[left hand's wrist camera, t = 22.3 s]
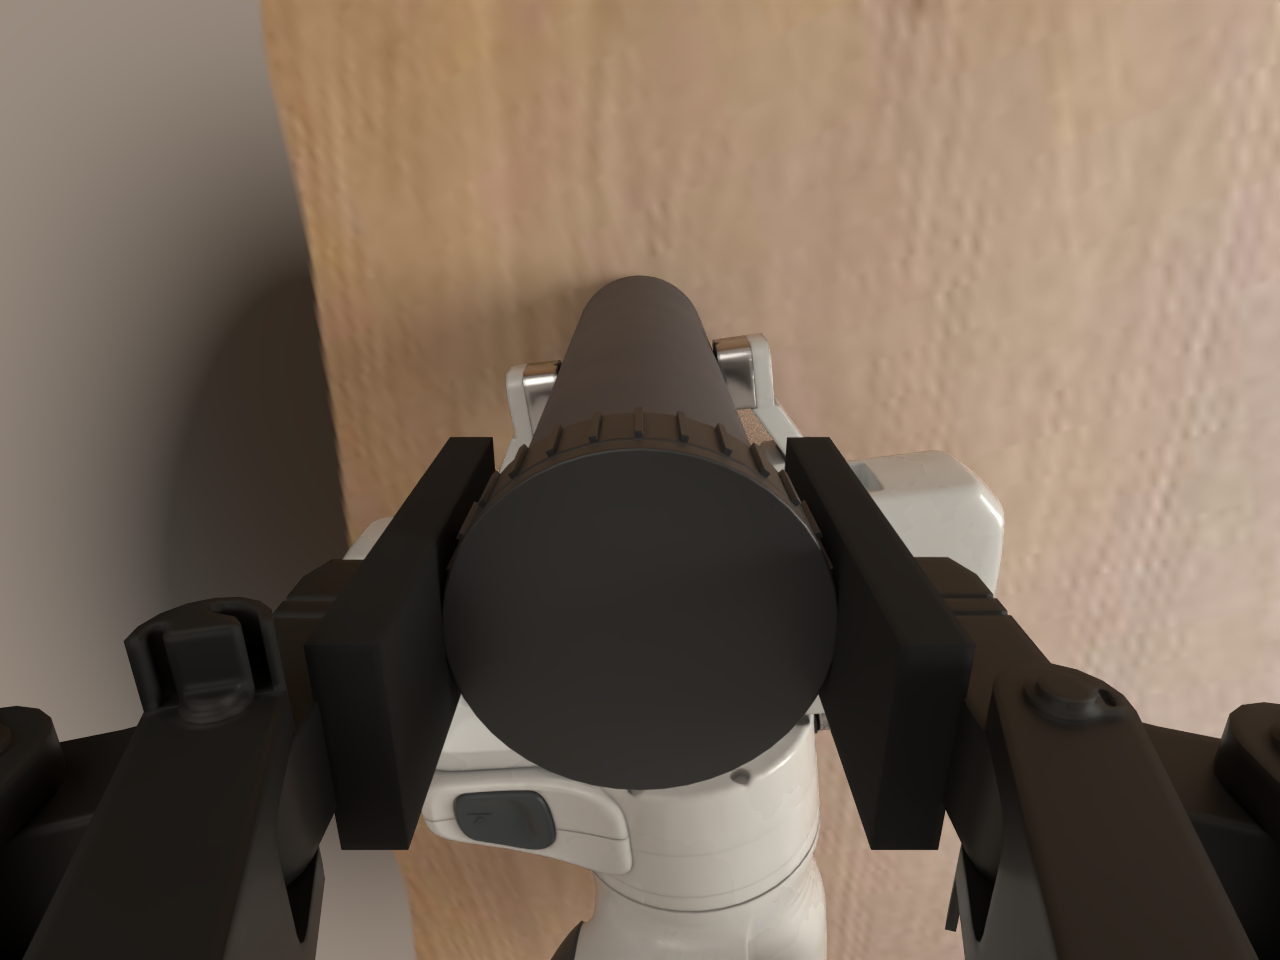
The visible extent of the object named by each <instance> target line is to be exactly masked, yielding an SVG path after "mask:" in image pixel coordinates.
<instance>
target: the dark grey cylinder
mask: <svg viewBox="0 0 1280 960" xmlns="http://www.w3.org/2000/svg"><path fill="white" fill-rule="evenodd" d="M635 407H643V412H644V413H660V414H668V415H674V416H676V415H677V411H682V412H685V415H686V418H689V419H692V420H695V421H698V422H702V423H705V424H708V425H711V426H713V427H716V425H717V424H718V423H720V424H722V425H724V426H725V428H726V431H727V433H728V434H730V435H732V436H734V437H736V438H737V439H739V440H740V441H742V442H743V443H745V444H747V445H748V446H751V445H750V443H749V440H748V438H747V435H746V433H745V430H744V428H743V425H742V423H741V420H740V418H739V415H738V413H737V410H736V408H735V405H734V403H733V400H732V398H731V395H730V393H729V390H728V388H727V385H726V383H725V380H724V378H723V375H722V373H721V370H720V368H719V366H718V363H717V361H716V358H715V356H714V353H713V351H712V348H711V346H710V343H709V341H708V338H707V336H706V333H705V331H704V328H703V326H702V323H701V321H700V318H699V316H698V313H697V311H696V309H695V307H694V306H693V304H692V303H691V301H690V300H689V299H688V298H687V297H686V295H685V294H684V293H683V292H681V291H680V290H679V289H678V288H677V287H675V286H673V285H672V284H670V283H668V282H666V281H664V280H661V279H658V278H655V277H649V276H631V277H626V278H622V279H619V280H616V281H614V282H612V283H610V284H608V285H606V286H605V287H603V288H602V289H601V290H599V291H598V292H597V293H596V294H595V295H594V296H593V297H592V298H591V300H590V301H589V302H588V304H587V305H586V307H585V309H584V311H583V313H582V315H581V318H580V320H579V323H578V325H577V328H576V330H575V333H574V335H573V338H572V340H571V343H570V345H569V348H568V350H567V353H566V355H565V358H564V360H563V363H562V365H561V368H560V370H559V373H558V375H557V378H556V380H555V383H554V385H553V388H552V390H551V393H550V395H549V398H548V400H547V403H546V405H545V408H544V410H543V413H542V415H541V418H540V420H539V423H538V425H537V428H536V430H535V433H534V435H533V438H532V440H531V443H530V445H529V447H530V446H532V445H533V444H535V443H536V442H538V441H539V440H541V439H542V438H544V437H546V436H548V435H550V434H551V433H552V430H553V427H554V426H555V425H558V424H561V426H562V428H564V427H566V426H569V425H572V424H575V423H578V422H581V421H584V420H587V419H591V418H592V416H593V412H597V411H600V412H601V415H602V416H606V415H611V414H620V413H635Z"/></svg>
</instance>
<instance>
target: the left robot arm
mask: <svg viewBox="0 0 1280 960" xmlns="http://www.w3.org/2000/svg"><path fill="white" fill-rule="evenodd" d="M494 471H495V463H494V449H493V437H450V438H449V440H448V441H447V443H446V444H445V445H444V447H443V448H442V450H441V451H440V452H439V454H438V455H437V457H436V458H435V459H434V461H433V462H432V464H431V465H430V467H429V468H428V469H427V471H426V472H425V474H424V475H423V476H422V478H421V479H420V481H419V482H418V484H417V485H416V486H415V488H414V489H413V491H412V492H411V493H410V495H409V496H408V498H407V499H406V501H405V502H404V503H403V505H402V506H401V508H400V509H399V510H398V512H397V513H396V515H395V516H394V517H393V519H392V520H391V522H390V523H389V525H388V526H387V527H386V529H385V530H384V532H383V533H382V534H381V536H380V537H379V539H378V540H377V542H376V543H375V544H374V546H373V547H372V549H371V550H370V551H369V553H368V554H367V556H366V557H365V559H364V560H330V561H329V562H327V563H325V564H324V565H322V566H320V567H319V568H317V569H315V570H314V571H312V572H311V573H309V574H307V575H305V576H304V577H303V578H302V579H301V580H300V581H299V583H298V584H297V585H296V586H295V587H294V589H293V590H292V591H291V592H290V593H289V595H288V596H287V600H286V601H283V602H282V603H281V604H280V606H279V607H278V608H277V609H276V610H275V612H274V613H273V614H272V610H271V609H270V608H269V607H267V606H266V605H265V604H263V603H262V602H261V601H257V600H252V599H247V598H242V597H229V598H212V599H207V600H203V601H198V602H193V603H188V604H185V605H182V606H179V607H177V608H174V609H171V610H168V611H166V612H163V613H160V614H159V615H157V616H155V617H154V618H152V619H150V620H148V621H147V622H145V623H143V624H141V625H140V626H138V627H137V628H136V629H135V630H134V631H133V632H132V633H131V634H130V635H129V636H128V637H127V638H126V639H125V640H124V644H125V648H126V651H127V655H128V658H129V662H130V665H131V669H132V672H133V675H134V679H135V683H136V686H137V689H138V693H139V696H140V700H141V703H142V707H143V710H144V713H143V715H142V717H141V719H140V721H139V723H138V725H137V726H136V727H132V728H128V729H124V730H119V731H114V732H110V733H104V734H99V735H94V736H89V737H84V738H79V739H74V740H69V741H64V742H59V740H58V737H57V734H56V731H55V728H54V725H53V722H52V719H51V717H49V716H48V715H47V714H45V713H44V712H43V711H41V710H40V709H37V708H29V707H21V706H12V707H4V708H0V960H315V956H316V947H317V939H318V931H319V923H320V915H321V906H322V898H323V890H324V881H325V877H324V870H323V863H322V858H321V854H320V848H319V844H320V842H321V840H322V837H323V835H324V833H325V831H326V829H327V827H328V825H329V823H330V821H331V819H332V816H333V814H334V812H335V818H336V823H337V828H338V834H339V839H340V844H341V849H342V850H408V849H409V846H410V843H411V840H412V837H413V834H414V832H415V829H416V826H417V823H418V820H419V817H420V814H421V811H422V808H423V805H424V802H425V799H426V796H427V793H428V790H429V787H430V784H431V781H432V779H433V776H434V773H435V770H436V767H437V764H438V761H439V758H440V755H441V752H442V749H443V746H444V743H445V740H446V737H447V734H448V731H449V729H450V726H451V723H452V720H453V717H454V714H455V711H456V708H457V705H458V702H459V699H460V696H461V692H460V690H459V688H458V686H457V684H456V682H455V681H454V679H453V676H452V673H451V670H450V667H449V664H448V661H447V658H446V651H445V642H444V634H443V624H442V614H441V609H442V599H443V591H444V586H445V583H446V579H447V573H446V568H447V566H448V564H449V562H450V560H451V558H452V556H453V554H454V552H455V550H456V548H457V546H458V544H459V541H460V540H458V539H456V538H457V535H458V533H459V531H460V529H461V527H462V525H463V523H464V521H465V519H466V517H467V515H468V513H469V511H470V509H471V507H472V505H473V503H474V502H477V503H478V502H479V500H480V498H481V496H482V494H483V492H484V489H485V487H486V485H487V483H488V481H489V479H490V477H491V475H492V474H493V473H494ZM785 472H786V473H787V474H788V476H789V478H790V480H791V482H792V484H793V487H794V489H795V491H796V493H797V495H798V497H799V499H800V501H803V500H805V502H806V504H807V506H808V508H809V510H810V512H811V514H812V516H813V518H814V520H815V522H816V524H817V526H818V528H819V530H820V532H821V534H822V536H823V537H822V538H820V541H821V543H822V545H823V547H824V549H825V551H826V553H827V555H828V557H829V559H830V561H831V563H832V565H833V574H832V576H833V580H834V583H835V587H836V592H837V600H838V618H837V628H836V638H835V647H834V655H833V661H832V664H831V666H830V669H829V672H828V675H827V678H826V680H825V682H824V684H823V686H822V688H821V690H820V692H819V694H818V695H819V698H820V700H821V703H822V706H823V709H824V712H825V715H826V718H827V721H828V724H829V727H830V730H831V733H832V736H833V739H834V742H835V745H836V748H837V751H838V753H839V756H840V759H841V762H842V765H843V768H844V771H845V774H846V777H847V780H848V783H849V786H850V789H851V792H852V795H853V798H854V801H855V804H856V806H857V809H858V812H859V815H860V818H861V821H862V824H863V827H864V830H865V833H866V836H867V839H868V842H869V845H870V848H871V850H938V847H939V842H940V836H941V831H942V826H943V820H944V815H945V810H946V811H947V814H948V816H949V818H950V820H951V822H952V824H953V826H954V828H955V830H956V832H957V835H958V837H959V839H960V841H961V848H960V853H959V858H958V863H957V868H956V873H955V878H954V883H953V888H952V893H951V898H950V903H949V908H948V913H947V920H946V927H945V929H946V930H950V931H955V932H956V928H957V924H958V919H959V915H960V921H961V929H962V937H963V946H964V954H965V960H1280V704H1274V703H1266V702H1262V703H1254V704H1246V705H1241V706H1240V707H1238V708H1237V709H1236V710H1234V711H1233V712H1232V713H1230V714H1229V717H1228V720H1227V723H1226V726H1225V729H1224V732H1223V735H1222V738H1221V739H1219V738H1214V737H1209V736H1204V735H1199V734H1194V733H1189V732H1184V731H1178V730H1173V729H1168V728H1163V727H1158V726H1154V725H1150V724H1146V723H1142V722H1141V720H1140V718H1139V716H1138V714H1137V711H1136V710H1135V709H1134V708H1133V706H1132V705H1131V704H1130V703H1129V701H1128V700H1127V699H1126V698H1125V696H1124V695H1123V694H1121V693H1120V692H1118V691H1117V690H1115V689H1114V688H1112V687H1111V686H1110V685H1108V684H1107V683H1105V682H1104V681H1102V680H1100V679H1098V678H1095V677H1093V676H1091V675H1088V674H1086V673H1084V672H1081V671H1079V670H1077V669H1073V668H1068V667H1064V666H1060V665H1056V664H1051V663H1050V662H1049V660H1048V659H1047V658H1046V657H1045V656H1044V654H1043V653H1042V652H1041V651H1040V650H1039V648H1038V647H1037V646H1036V645H1035V644H1034V642H1033V641H1032V640H1031V639H1030V638H1029V636H1028V635H1027V634H1026V633H1025V632H1024V630H1023V629H1022V628H1021V627H1020V626H1019V624H1018V623H1017V622H1016V621H1015V620H1014V618H1013V617H1012V616H1011V615H1008V614H1007V610H1006V609H1005V608H1004V606H1003V605H1002V604H1001V603H1000V602H999V600H998V599H997V598H994V597H993V593H992V592H991V591H990V590H989V588H988V587H987V586H986V585H985V584H984V582H983V581H982V580H981V579H980V578H979V576H978V575H977V574H976V573H974V572H972V571H971V570H969V569H967V568H966V567H964V566H962V565H961V564H959V563H957V562H956V561H954V560H952V559H951V558H949V557H914V556H913V555H912V554H911V552H910V551H909V549H908V548H907V547H906V545H905V544H904V542H903V541H902V539H901V538H900V537H899V535H898V534H897V532H896V531H895V530H894V528H893V527H892V525H891V524H890V522H889V521H888V520H887V518H886V517H885V515H884V514H883V513H882V511H881V510H880V508H879V507H878V505H877V504H876V503H875V501H874V500H873V498H872V497H871V496H870V494H869V493H868V491H867V490H866V488H865V487H864V486H863V484H862V483H861V481H860V480H859V479H858V477H857V476H856V474H855V473H854V472H853V470H852V469H851V467H850V466H849V464H848V463H847V462H846V460H845V459H844V457H843V456H842V455H841V453H840V452H839V450H838V449H837V447H836V446H835V445H834V443H833V442H832V440H831V439H830V438H829V437H787V442H786V456H785Z"/></svg>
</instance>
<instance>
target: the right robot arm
mask: <svg viewBox="0 0 1280 960" xmlns="http://www.w3.org/2000/svg"><path fill="white" fill-rule="evenodd" d="M713 353H714V356H715V358H716V361H717V363H718V366H719V368H720V370H721V373H722V375H723V378H724V380H725V383H726V385H727V388H728V390H729V393H730V395H731V398H732V400H733V403H734V405H735V408H736V410H740V409H749V408H751V409H752V411H753V412H754V414H755V415H756V417H757V418H758V419H759V421H760V422H761V423H762V425H763V426H764V427H765V429H766V430H767V432H768V433H769V434H770V436H771V437H772V438H773V440H772V441H763V442H762V443H761V444H760V445H759V447H760V450H761V452H762V454H763V456H764V458H765V459H766V460H767V461H768V462H769V463H770V464H771V465H772V466H773V467H774V468H775V469H776V470H777V471H778V472H780V471H781V470H782V469H784V470H785V456H786V442H787V437H803V435H802V434H801V432H800V431H799V429H798V428H797V427H796V425H795V424H794V423H793V421H792V420H791V418H790V417H789V416H788V414H787V413H786V412H785V410H784V409H783V407H782V406H781V405H780V403H779V402H778V400H777V399H776V398H775V396H774V394H773V381H772V367H771V354H770V349H769V344H768V341H767V339H766V338H765V336H764V335H763V334H762V333H759V334H752V335H743V336H737V337H730V338H723V339H716V340H713ZM561 365H562V363H561V361H560V360H558V361H549V362H540V363H532V364H522V365H516V366H511V368H510V369H509V371H508V373H507V374H506V391H507V396H508V401H509V406H510V411H511V416H512V421H513V426H514V431H515V433H514V435H513V437H512V440H511V442H510V445H509V448H508V450H507V453H506V456H505V458H504V461H503V464H502V467H501V469H500V472H499V473H501V472H502V471H503V470H504V469H505V468H506V467H507V465H508V464H510V463H511V462H512V461H513V460H514V458H515V456H516V454H517V452H518V449H519V447H521V446H522V445H523V444H525V445H526V446H527V447H528V448H529V445H530V443H531V440H532V438H533V435H534V433H535V430H536V428H537V425H538V423H539V420H540V418H541V415H542V413H543V410H544V408H545V405H546V403H547V400H548V398H549V395H550V393H551V390H552V388H553V385H554V383H555V380H556V378H557V375H558V373H559V370H560V368H561ZM846 462H847V463H848V464H849V466H850V467H851V469H852V470H853V472H854V473H855V474H856V476H857V477H858V479H859V480H860V481H861V483H862V484H863V486H864V487H865V488H866V490H867V491H868V493H869V494H870V496H871V497H872V498H873V500H874V501H875V503H876V504H877V505H878V507H879V508H880V510H881V511H882V513H883V514H884V515H885V517H886V518H887V520H888V521H889V522H890V524H891V525H892V527H893V528H894V530H895V531H896V532H897V534H898V535H899V537H900V538H901V539H902V541H903V542H904V544H905V545H906V547H907V548H908V549H909V551H910V552H911V554H912V555H913V556H914V557H949V558H951V559H952V560H954V561H956V562H957V563H959V564H961V565H962V566H964V567H966V568H967V569H969V570H971V571H972V572H974V573H976V574H977V575H978V576H979V578H980V579H981V580H982V581H983V582H984V584H985V585H986V586H987V587H988V588H989V590H990V591H991V592H992V593H993V597H994V596H995V591H996V586H997V580H998V575H999V568H1000V561H1001V554H1002V545H1003V537H1004V513H1003V509H1002V506H1001V504H1000V502H999V500H998V499H997V497H996V496H995V495H994V493H993V492H992V491H991V490H990V488H989V487H988V486H987V485H986V484H985V483H984V482H983V481H982V480H981V479H980V478H979V477H978V476H977V475H976V474H975V473H974V472H973V471H971V470H970V469H969V468H968V467H966V466H965V465H964V464H962V463H961V462H960V461H958V460H957V459H956V458H954V457H953V456H952V455H950V454H948V453H946V452H944V451H938V450H935V451H924V452H916V453H908V454H900V455H891V456H883V457H875V458H867V459H859V460H851V461H846ZM393 517H394V516H393ZM393 517H385V518H381V519H378V520H375V521H374V522H372V523H371V524H370V525H369V526H368V527H367V528H366V529H365V530H364V531H363V533H362V534H361V535H360V536H359V537H358V539H357V540H356V541H355V542H354V543H353V545H352V546H351V547H350V549H349V550H348V552H347V553H346V555H345V556H344V558H343V559H342V560H364V559H365V557H366V556H367V554H368V553H369V551H370V550H371V549H372V547H373V546H374V544H375V543H376V542H377V540H378V539H379V537H380V536H381V534H382V533H383V532H384V530H385V529H386V527H387V526H388V525H389V523H390V522H391V520H392V519H393ZM829 729H830V727H829V724H828V721H827V718H826V715H825V712H824V709H823V706H822V703H821V700H820V698H819V695H818V696H817V698H816V699H815V701H814V702H813V703H812V705H811V706H810V708H809V709H808V711H807V712H806V714H805V715H804V716H803V717H802V719H801V720H800V721H799V722H798V723H797V724H796V725H795V726H794V727H793V728H792V730H791V731H790V732H789V733H788V734H787V735H785V736H784V737H783V738H782V739H781V740H780V741H778V742H777V743H776V744H775V745H774V746H773V747H771V748H770V749H768V750H767V751H765V752H764V753H762V754H761V755H759V756H758V757H756V758H755V759H753V760H752V761H750V762H748V763H746V764H744V765H742V766H740V767H738V768H736V769H734V770H733V771H730V772H728V773H725V774H722V775H720V776H717V777H715V778H712V779H709V780H705V781H702V782H698V783H694V784H690V785H686V786H680V787H674V788H667V789H655V790H625V789H613V788H606V787H600V786H593V785H589V784H586V783H582V782H578V781H574V780H570V779H568V778H565V777H563V776H560V775H557V774H555V773H552V772H549V771H547V770H545V769H543V768H541V767H539V766H538V765H536V764H534V763H532V762H530V761H528V760H526V759H525V758H523V757H522V756H520V755H519V754H517V753H516V752H514V751H513V750H511V749H510V748H508V747H507V746H506V745H505V744H504V743H503V742H501V741H500V740H499V739H498V738H497V737H496V736H494V735H493V734H492V733H491V732H490V731H489V730H488V729H487V728H486V726H485V725H484V724H483V723H482V722H481V721H480V720H479V719H478V718H477V717H476V715H475V714H474V712H473V711H472V710H471V708H470V707H469V705H468V704H467V702H466V701H465V700H464V698H463V696H462V694H461V696H460V699H459V702H458V705H457V708H456V711H455V714H454V717H453V720H452V723H451V726H450V729H449V731H448V734H447V737H446V740H445V743H444V746H443V749H442V752H441V755H440V758H439V761H438V764H437V767H436V770H435V773H434V776H433V779H432V781H431V784H430V787H429V790H428V793H427V796H426V799H425V802H424V805H423V808H422V815H423V818H424V821H425V823H426V825H427V827H428V828H429V830H430V831H431V832H433V833H434V834H435V835H437V836H439V837H441V838H444V839H447V840H452V841H457V842H463V843H470V844H478V845H485V846H492V847H498V848H504V849H510V850H516V851H521V852H527V853H531V854H536V855H540V856H545V857H549V858H553V859H557V860H561V861H564V862H568V863H571V864H574V865H577V866H580V867H583V868H586V869H589V870H591V871H592V873H593V876H594V880H595V886H596V899H595V909H594V914H593V916H592V918H591V919H590V920H589V921H588V922H584V921H581V922H580V923H579V924H578V925H577V926H576V927H575V928H574V929H573V930H572V931H571V932H570V933H569V934H568V936H567V937H566V938H565V939H564V941H563V942H562V944H561V945H560V946H559V948H558V949H557V951H556V952H555V954H554V955H553V957H552V959H551V960H827V928H826V904H825V893H824V887H823V882H822V879H821V875H820V872H819V869H818V866H817V864H816V861H815V859H814V857H813V854H814V851H815V848H816V844H817V840H818V834H819V827H820V804H819V788H818V772H817V755H816V743H815V733H817V730H829Z"/></svg>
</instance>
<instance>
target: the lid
mask: <svg viewBox="0 0 1280 960" xmlns="http://www.w3.org/2000/svg"><path fill="white" fill-rule="evenodd" d="M822 537H823V536H822V534H821V532H820V530H819V528H818V526H817V524H816V522H815V520H814V518H813V516H812V514H811V512H810V510H809V508H808V506H807V504H806V502H805V500H803V501H800V499H799V497H798V495H797V493H796V491H795V489H794V487H793V484H792V482H791V480H790V478H789V476H788V474H787V473H786V472H785V470H784V469H782V470H781V471H780V472H778V471H777V470H776V469H775V468H774V467H773V466H772V465H771V464H770V463H769V462H768V461H767V460H766V459H765V458H764V456H763V454H762V452H761V450H760V447H759V446H758V445H757V444H755V443H753V444H752V445H751V446H748V445H747V444H745V443H743V442H742V441H740V440H739V439H737V438H736V437H734V436H732V435H730V434H728V433H727V431H726V428H725V426H724V425H722V424H720V423H718V424H717V425H716V427H713V426H711V425H708V424H705V423H702V422H698V421H695V420H692V419H689V418H686V415H685V412H682V411H677V415H676V416H674V415H668V414H660V413H644V412H643V407H635V413H620V414H611V415H606V416H602V415H601V412H600V411H597V412H593V416H592V418H591V419H587V420H584V421H581V422H578V423H575V424H572V425H569V426H566V427H564V428H562V426H561V424H558V425H555V426H554V427H553V430H552V433H551V434H550V435H548V436H546V437H544V438H542V439H541V440H539V441H538V442H536V443H535V444H533V445H532V446H530V447H529V448H528V447H527V446H526V445H525V444H523V445H522V446H521V447H519V449H518V452H517V454H516V456H515V458H514V460H513V461H512V462H511V463H510V464H508V465H507V467H506V468H505V469H504V470H503V471H502V472H501V473H499V472H497V471H496V470H495V471H494V473H493V474H492V475H491V477H490V479H489V481H488V483H487V485H486V487H485V489H484V492H483V494H482V496H481V498H480V500H479V502H478V503H477V502H474V503H473V505H472V507H471V509H470V511H469V513H468V515H467V517H466V519H465V521H464V523H463V525H462V527H461V529H460V531H459V533H458V535H457V538H456V539H458V540H460V541H459V544H458V546H457V548H456V550H455V552H454V554H453V556H452V558H451V560H450V562H449V564H448V566H447V568H446V573H447V579H446V583H445V586H444V591H443V599H442V609H441V614H442V624H443V634H444V642H445V651H446V658H447V661H448V664H449V667H450V670H451V673H452V676H453V679H454V681H455V682H456V684H457V686H458V688H459V690H460V692H461V694H462V696H463V698H464V700H465V701H466V702H467V704H468V705H469V707H470V708H471V710H472V711H473V712H474V714H475V715H476V717H477V718H478V719H479V720H480V721H481V722H482V723H483V724H484V725H485V726H486V728H487V729H488V730H489V731H490V732H491V733H492V734H493V735H494V736H496V737H497V738H498V739H499V740H500V741H501V742H503V743H504V744H505V745H506V746H507V747H508V748H510V749H511V750H513V751H514V752H516V753H517V754H519V755H520V756H522V757H523V758H525V759H526V760H528V761H530V762H532V763H534V764H536V765H538V766H539V767H541V768H543V769H545V770H547V771H549V772H552V773H555V774H557V775H560V776H563V777H565V778H568V779H570V780H574V781H578V782H582V783H586V784H589V785H593V786H600V787H606V788H613V789H625V790H655V789H667V788H674V787H680V786H686V785H690V784H694V783H698V782H702V781H705V780H709V779H712V778H715V777H717V776H720V775H722V774H725V773H728V772H730V771H733V770H734V769H736V768H738V767H740V766H742V765H744V764H746V763H748V762H750V761H752V760H753V759H755V758H756V757H758V756H759V755H761V754H762V753H764V752H765V751H767V750H768V749H770V748H771V747H773V746H774V745H775V744H776V743H777V742H778V741H780V740H781V739H782V738H783V737H784V736H785V735H787V734H788V733H789V732H790V731H791V730H792V728H793V727H794V726H795V725H796V724H797V723H798V722H799V721H800V720H801V719H802V717H803V716H804V715H805V714H806V712H807V711H808V709H809V708H810V706H811V705H812V703H813V702H814V701H815V699H816V698H817V696H818V694H819V692H820V690H821V688H822V686H823V684H824V682H825V680H826V678H827V675H828V672H829V669H830V666H831V664H832V661H833V655H834V647H835V638H836V628H837V618H838V600H837V592H836V587H835V583H834V580H833V576H832V574H833V565H832V563H831V561H830V559H829V557H828V555H827V553H826V551H825V549H824V547H823V545H822V543H821V541H820V538H822Z"/></svg>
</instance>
